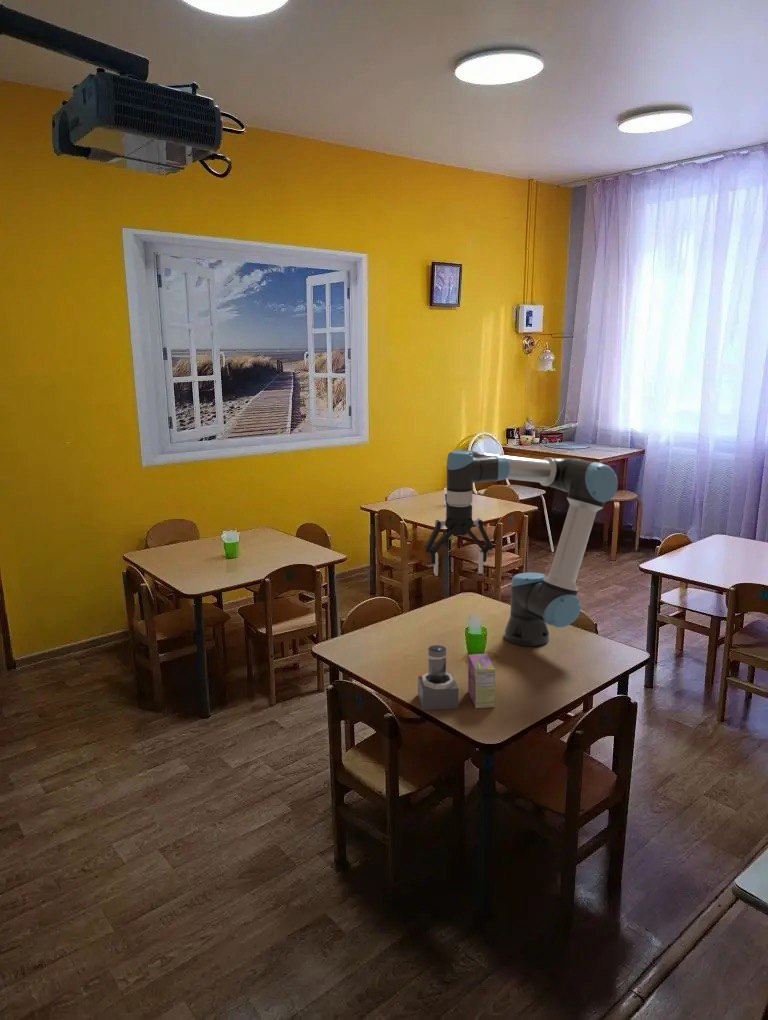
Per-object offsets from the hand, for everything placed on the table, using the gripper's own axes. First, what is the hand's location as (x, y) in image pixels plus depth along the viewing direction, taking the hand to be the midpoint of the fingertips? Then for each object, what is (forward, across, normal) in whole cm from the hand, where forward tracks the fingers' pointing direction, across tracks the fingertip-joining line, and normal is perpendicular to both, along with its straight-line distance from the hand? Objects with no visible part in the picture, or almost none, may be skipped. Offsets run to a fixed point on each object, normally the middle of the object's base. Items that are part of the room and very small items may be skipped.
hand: (458, 573), depth 206 cm
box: (+33, -4, +16) cm, 37 cm away
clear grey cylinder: (+27, +9, +16) cm, 32 cm away
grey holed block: (+33, +9, +16) cm, 38 cm away
